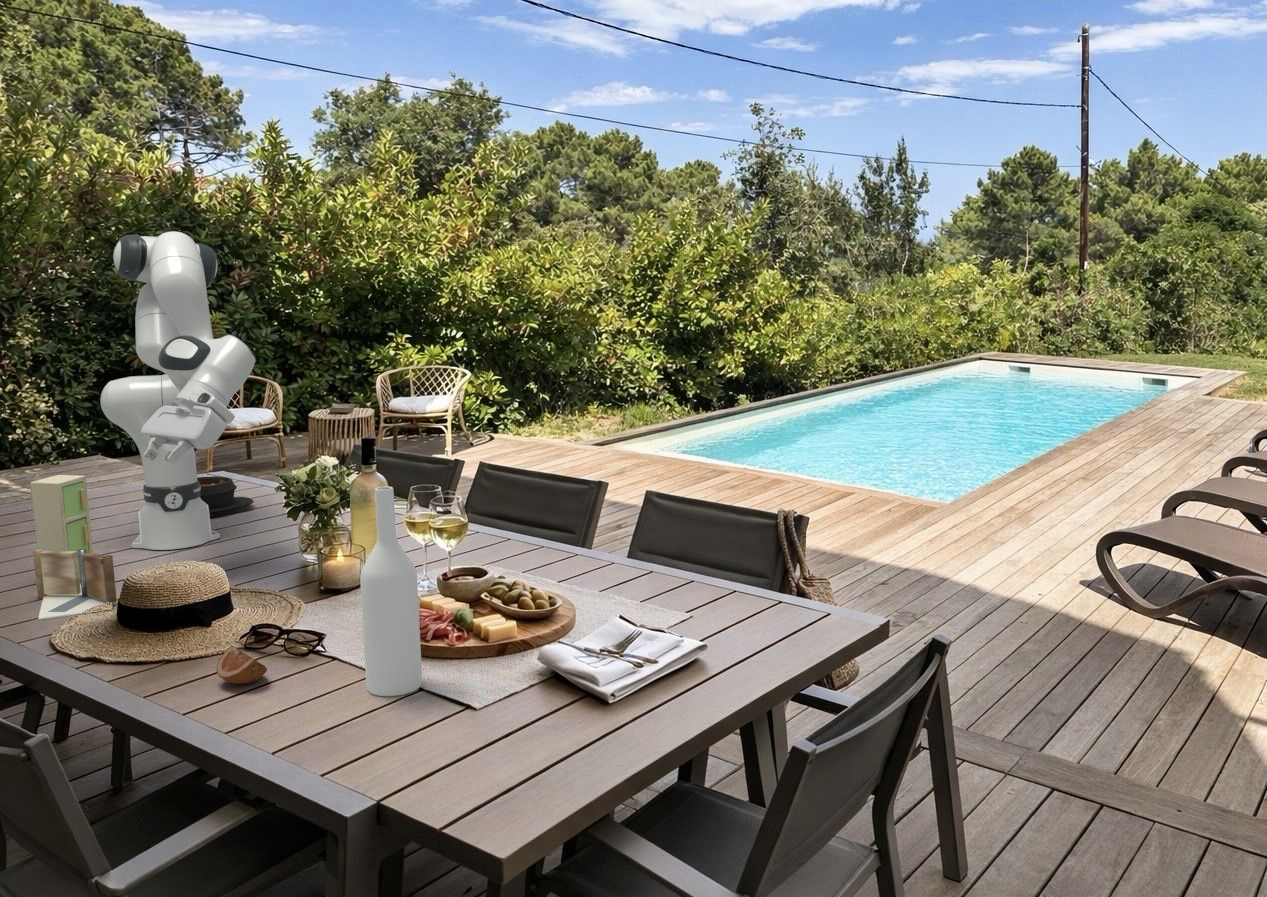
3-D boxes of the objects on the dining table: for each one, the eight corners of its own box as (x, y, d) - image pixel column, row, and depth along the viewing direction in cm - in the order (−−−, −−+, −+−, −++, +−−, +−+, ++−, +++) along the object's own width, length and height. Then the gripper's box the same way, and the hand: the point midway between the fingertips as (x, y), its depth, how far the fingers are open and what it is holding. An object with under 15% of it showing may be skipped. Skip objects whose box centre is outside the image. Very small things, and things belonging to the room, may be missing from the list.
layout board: (45, 589, 206) (45, 587, 206) (113, 581, 211) (113, 579, 211) (38, 620, 187) (38, 618, 187) (112, 610, 193) (112, 608, 193)
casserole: (244, 500, 288) (242, 471, 287) (262, 512, 273) (259, 481, 271) (146, 512, 275) (143, 481, 273) (158, 526, 259) (155, 493, 258)
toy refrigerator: (71, 585, 209) (60, 482, 205) (39, 584, 210) (28, 481, 207) (99, 574, 216) (89, 475, 213) (68, 573, 218) (58, 474, 214)
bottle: (371, 700, 149) (359, 495, 145) (362, 681, 157) (350, 485, 152) (427, 691, 153) (418, 490, 148) (416, 672, 160) (406, 480, 155)
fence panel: (86, 596, 199) (81, 551, 197) (95, 593, 200) (91, 549, 199) (109, 603, 194) (105, 557, 193) (119, 600, 196) (114, 555, 194)
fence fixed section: (93, 596, 201) (88, 548, 200) (88, 599, 200) (83, 551, 198) (41, 595, 202) (36, 548, 201) (35, 598, 200) (30, 550, 199)
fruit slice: (276, 684, 156) (274, 653, 155) (232, 697, 152) (229, 664, 151) (253, 670, 162) (251, 639, 161) (210, 681, 158) (207, 650, 157)
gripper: (158, 392, 214) (117, 446, 208) (218, 397, 203) (176, 454, 196) (180, 411, 218) (140, 464, 212) (240, 417, 207) (200, 474, 201)
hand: (158, 460), depth 204 cm, fingers open, 6 cm apart
